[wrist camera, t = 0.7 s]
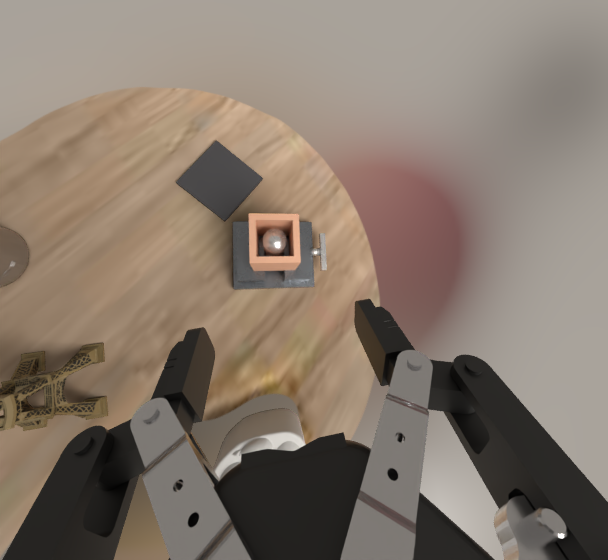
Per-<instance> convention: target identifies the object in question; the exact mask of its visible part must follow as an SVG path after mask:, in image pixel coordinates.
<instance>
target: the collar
mask: <svg viewBox="0 0 608 560" xmlns="http://www.w3.org/2000/svg"><path fill="white" fill-rule="evenodd" d="M270 229H279V230H281V231H282V232H283V233H284V234H285V236H289V256H269V257H259V238H258V236H264V234H265V233H266V232H267V231H268V230H270ZM249 257H250V265H251V267H252V269H253V271H283V270H296V268H297V267H298V266H299V264H300V263H301V256H300V231H299V214H261V213H249Z"/></svg>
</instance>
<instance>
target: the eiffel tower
mask: <svg viewBox="0 0 608 560" xmlns="http://www.w3.org/2000/svg"><path fill="white" fill-rule="evenodd" d="M80 350H81V351H79V352H78V353H77V354H76V355H75V356H74V357H73V358H72V359H71V360H70V361H69V362H68V363H67V364H66V365H65V366H64V367H63V368H61V369H60V370H58V371H54V372H49V373H44V374H38V375H36V373H37V372H41V371H44V370H45V351H42V352H35V353H27V354H21V362H20V363H19V365H18V366H17V368H16V370H15V372H14V374H13V376H12V378H11V380H10V381H5V382H1V384H2V387H1V388H0V411H1V410H4V415H2V416H0V431H2V430H7V429H11V428H14V426H15V425H18V426H20V427H23V431H26V430H32V429H37V428H43V427H47V419H52V418H53V417H54V415H75V416H79V417H82V418H85V417H86V420H88V419H93V418H99V417H104V416H108V409H107V396H105V397H99V398H93V399H87V400H84V401H83V403H68V402H67V401H66V398H65V396H64V393H63V389H64V384H65V380H66V377H67V376H68V375H70V374H72V373H74V372H76V371H78V370H80V369H82V368H84V367H86V366H88V365H90V364H94V363H100V362H105V358H104V343H100V344H93V345H85V346H82V349H80ZM43 388H44V402H45V407H39V408H33V407H32V406H31V405H30V404H29V403H28V401H27V397H29V396H31V395H32V394H34V393H36V392H38V391H39V390H41V389H43Z"/></svg>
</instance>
